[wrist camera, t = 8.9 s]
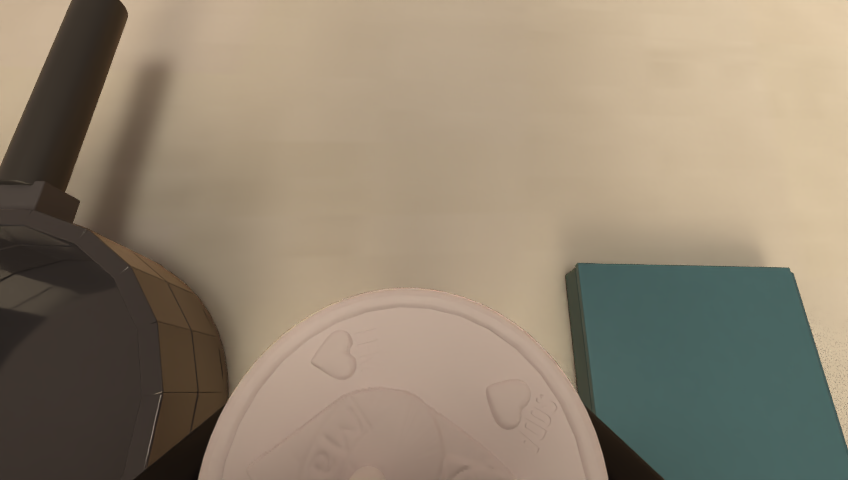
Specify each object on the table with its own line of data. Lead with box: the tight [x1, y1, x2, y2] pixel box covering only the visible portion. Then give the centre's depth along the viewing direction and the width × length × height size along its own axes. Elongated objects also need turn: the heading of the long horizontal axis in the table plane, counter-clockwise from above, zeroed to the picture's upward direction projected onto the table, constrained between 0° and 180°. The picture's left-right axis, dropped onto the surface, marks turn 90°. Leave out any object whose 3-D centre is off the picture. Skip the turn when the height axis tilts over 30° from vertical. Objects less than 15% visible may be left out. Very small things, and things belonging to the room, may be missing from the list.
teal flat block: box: [566, 263, 848, 480], centre depth 15 cm, size 12×9×2 cm
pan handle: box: [0, 0, 128, 223], centre depth 16 cm, size 10×2×2 cm, turn 179°
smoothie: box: [198, 288, 608, 480], centre depth 9 cm, size 6×6×14 cm
